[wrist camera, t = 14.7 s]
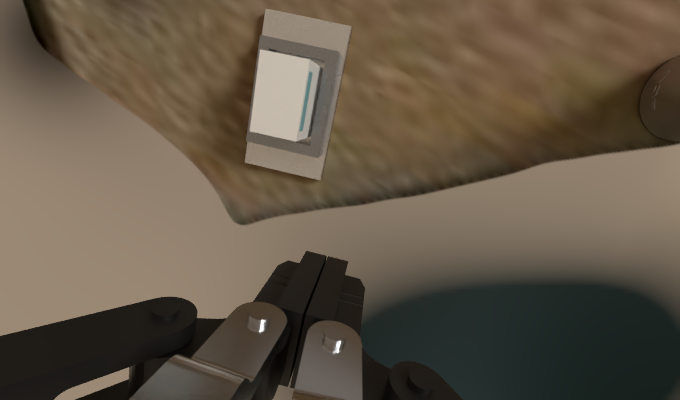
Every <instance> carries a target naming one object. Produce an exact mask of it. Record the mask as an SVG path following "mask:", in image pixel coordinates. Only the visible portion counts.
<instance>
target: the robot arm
mask: <svg viewBox="0 0 680 400" xmlns="http://www.w3.org/2000/svg"><path fill="white" fill-rule="evenodd" d="M639 109H640V116H641V119H642V121H643V124H644V125H645V126H646V128H647V129H648V130H649V131H650V132H651V133H652V134H654V135H655V136H657V137H659V138H661V139H664V140H669V141H676V142H680V56H678V57H675V58H673V59H671V60H670V61H668V62H667V63H665V64H663V65H662V66H661V67H660V68H659V69H658V70H656V71H655V72H654V74H653V75H652V76H651V77H650V79H649V80H648V82H647V83H646V85H645V87H644V89H643V92H642V95H641V98H640V106H639ZM326 258H327V257H326V256H325V255H321V254H317V253H313V252H309V251H306V252H305V254H304V256H303V258H302V260H301V262H300V263H296V262H292V261H286V262H284V263H282V264H280V265H278V266H277V268H276V269H275V271H274V272H273V273H272V275H271V277H270V278H269V279H268V282H266V284H265V285H264V287H263V288H262V290H261V291H260V292H259V294H258V295H257V297H256V298H255V300H254V301H253V302H250V303H246V304H243V305H241V306H239V307H237V308H236V309H235V310H234V311H233V312H232V313H231V314H230V315H229V316H228V318H225V319H203V318H202V319H201V318H197V309H196V307H195V305H194V304H193V303H191V302H190V301H188V300H185V299H182V298H178V297H161V298H156V299H151V300H147V301H143V302H139V303H135V304H131V305H126V306H122V307H118V308H114V309H110V310H106V311H102V312H98V313H94V314H89V315H85V316H81V317H77V318H73V319H69V320H65V321H61V322H56V323H52V324H48V325H44V326H40V327H36V328H32V329H28V330H24V331H20V332H15V333H11V334H7V335H3V336H0V400H54V399H55V398H56V397H57V396H58V395H59V394H61V393H62V392H63V391H65V390H67V389H69V388H72V387H75V386H77V385H80V384H83V383H86V382H89V381H91V380H94V379H97V378H100V377H103V376H105V375H108V374H111V373H114V372H116V371H119V370H122V369H125V368H128V367H129V379H128V380H126V381H123V382H120V383H118V384H115V385H113V386H110V387H107V388H105V389H102V390H100V391H97V392H94V393H92V394H89V395H86V396H84V397H81V398H78V399H76V400H272V399H273V398H274V396H275V393H276V391H277V388H278V385H283V386H288V384H289V382H290V379H291V376H292V373H293V376H292V381H291V386H290V387H291V388H294V393H293V397H292V400H463V399H462V398H461V397H460V396H459V395H458V394H457V393H456V392H455V391H454V390H453V389H452V388H451V387H450V386H449V385H448V384H447V383H446V382H445V381H444V380H443V378H441V377H440V376H439V375H438V374H437V373H436V372H435V371H433V370H432V369H430V368H429V367H427V366H425V365H422V364H420V363H416V362H411V361H404V362H399V363H397V364H395V365H394V366H393V367H392V368H391V369H389V368H387V367H385V366H384V365H382V364H380V363H378V362H377V361H375V360H374V359H372V358H371V357H370V356H369V355H368V354H367V353H366V352H365V351H364V349H363V347H362V342H361V339H360V328H361V319H362V310H363V301H364V291H365V287H364V286H363V284H362V282H361V280H360V279H358V278H354V277H350V276H346V275H345V272H346V268H347V264H348V261H344V260H340V259H337V258H332V257H329V256H328V258H327V261H326ZM293 370H294V372H293Z"/></svg>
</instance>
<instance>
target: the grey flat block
mask: <svg viewBox="0 0 680 400" xmlns="http://www.w3.org/2000/svg"><path fill="white" fill-rule="evenodd" d="M351 33H352V27H351V26H347V25H343V24H338V23H333V22H328V21H323V20H318V19H314V18H309V17H304V16H299V15H294V14H290V13H285V12H280V11H275V10H270V9H265V16H264V23H263V31H262V35H260V39H259V47H258V54H257V62H256V69H255V77H254V84H253V92H252V99H251V107H250V114H249V122H248V129H247V137H246V141H247V150H246V157H245V163H249V164H253V165H258V166H262V167H266V168H270V169H274V170H279V171H283V172H287V173H291V174H295V175H300V176H304V177H308V178H312V179H316V180H321V179H322V176H323V171H324V166H325V161H326V156H327V151H328V146H329V141H330V136H331V131H332V126H333V122H334V117H335V112H336V107H337V102H338V97H339V92H340V87H341V82H342V77H343V72H344V67H345V62H346V57H347V52H348V47H349V43H350V38H351ZM260 49H261V50H266V51H271V52H276V53H281V54H286V55H291V56H295V57H300V58H305V59H310V60H311V61H313V62H314V63H316V64H317V65H319V66H320V67H322V73H321V79H320V85H319V90H318V96H317V102H316V107H315V113H314V118H313V124H312V130H311V135H310V137H308V138H305V139H302V140H299V141H297V142H295V141H291V140H286V139H282V138H277V137H273V136H268V135H264V134H259V133H255V132H250V124H251V116H252V108H253V100H254V93H255V85H256V77H257V69H258V61H259V53H260Z"/></svg>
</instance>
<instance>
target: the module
mask: <svg viewBox="0 0 680 400" xmlns="http://www.w3.org/2000/svg"><path fill="white" fill-rule="evenodd" d="M321 73H322V67H320V66H319V65H317V64H316V63H314V62H313V61H311V60H310V59H305V58H300V57H295V56H291V55H286V54H281V53H276V52H271V51H266V50H261V49H260V53H259V61H258V69H257V77H256V85H255V93H254V100H253V108H252V116H251V124H250V132H255V133H259V134H264V135H268V136H273V137H277V138H282V139H286V140H291V141H295V142H297V141H299V140H302V139H305V138H308V137H310V135H311V130H312V124H313V118H314V113H315V107H316V102H317V96H318V90H319V85H320V79H321Z"/></svg>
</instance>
